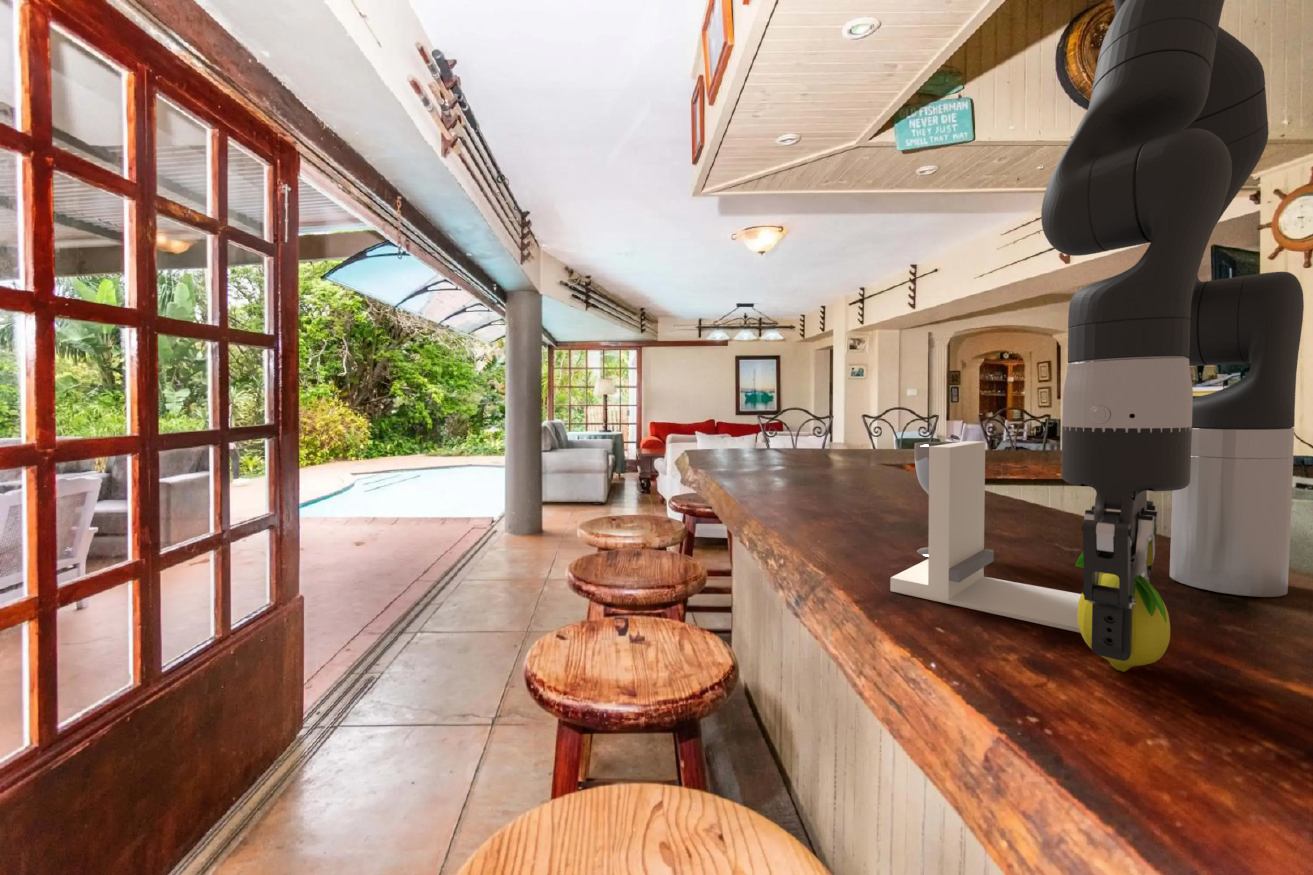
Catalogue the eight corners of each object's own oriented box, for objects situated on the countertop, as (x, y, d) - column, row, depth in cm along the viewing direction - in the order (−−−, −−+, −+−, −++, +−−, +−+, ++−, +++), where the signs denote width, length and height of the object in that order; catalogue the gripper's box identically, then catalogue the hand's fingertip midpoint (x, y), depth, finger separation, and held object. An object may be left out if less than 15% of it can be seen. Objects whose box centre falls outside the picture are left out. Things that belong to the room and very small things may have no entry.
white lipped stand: (929, 570, 71) (930, 440, 70) (1121, 605, 58) (1125, 445, 57) (890, 590, 63) (890, 445, 63) (1100, 637, 50) (1105, 453, 49)
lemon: (1073, 645, 49) (1076, 527, 48) (1166, 663, 45) (1170, 536, 44) (1066, 674, 43) (1069, 543, 43) (1171, 698, 40) (1175, 554, 39)
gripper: (1182, 426, 36) (1174, 694, 36) (1199, 419, 45) (1192, 630, 46) (1039, 424, 41) (1035, 658, 42) (1082, 419, 51) (1078, 608, 52)
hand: (1118, 642), depth 44 cm, fingers closed on lemon, 5 cm apart
